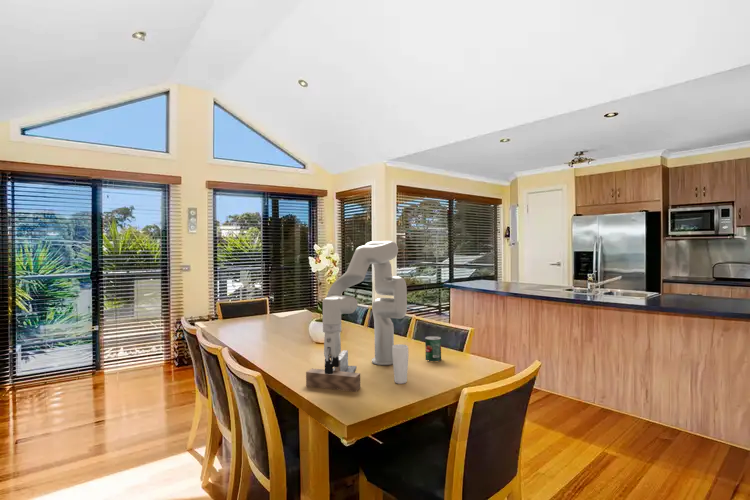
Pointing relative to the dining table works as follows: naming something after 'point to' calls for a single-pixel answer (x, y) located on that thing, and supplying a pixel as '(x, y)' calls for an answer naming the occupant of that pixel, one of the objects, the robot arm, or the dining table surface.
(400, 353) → the drinking glass
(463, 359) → the dining table surface
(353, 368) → the ridge stand
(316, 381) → the brown wooden block
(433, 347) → the canned tomato
